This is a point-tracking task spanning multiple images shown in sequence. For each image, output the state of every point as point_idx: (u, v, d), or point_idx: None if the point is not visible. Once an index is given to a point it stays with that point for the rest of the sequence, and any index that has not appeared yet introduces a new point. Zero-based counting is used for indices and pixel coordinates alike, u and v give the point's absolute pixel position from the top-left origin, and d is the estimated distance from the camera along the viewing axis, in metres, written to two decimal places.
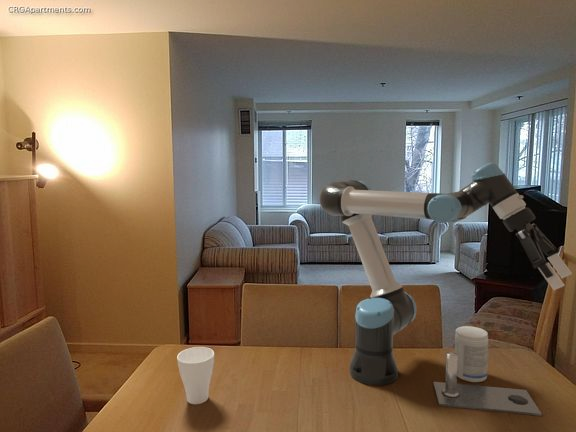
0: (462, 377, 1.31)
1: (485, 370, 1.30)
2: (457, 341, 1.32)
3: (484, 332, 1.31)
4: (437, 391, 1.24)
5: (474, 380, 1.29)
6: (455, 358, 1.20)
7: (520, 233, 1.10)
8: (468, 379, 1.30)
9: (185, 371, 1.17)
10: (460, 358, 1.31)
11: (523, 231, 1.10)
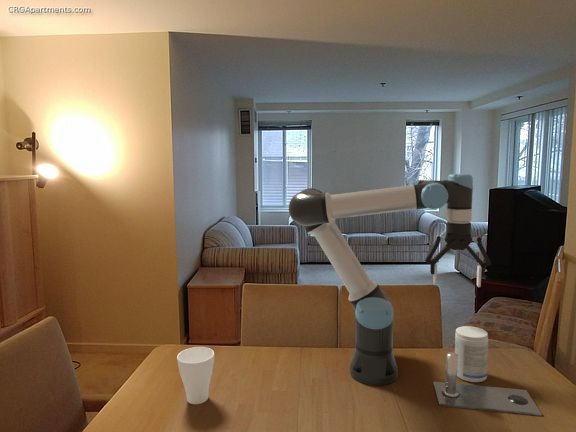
0: (462, 377, 1.31)
1: (485, 370, 1.30)
2: (457, 341, 1.32)
3: (484, 332, 1.31)
4: (437, 391, 1.24)
5: (474, 380, 1.29)
6: (455, 358, 1.20)
7: (480, 238, 1.37)
8: (468, 379, 1.30)
9: (185, 371, 1.17)
10: (460, 358, 1.31)
11: None
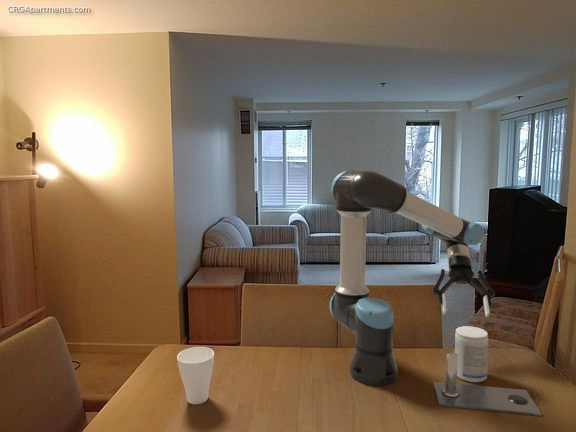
0: (462, 377, 1.31)
1: (485, 370, 1.30)
2: (457, 341, 1.32)
3: (484, 332, 1.31)
4: (437, 391, 1.24)
5: (474, 380, 1.29)
6: (455, 358, 1.20)
7: None
8: (468, 379, 1.30)
9: (185, 371, 1.17)
10: (460, 358, 1.31)
11: None
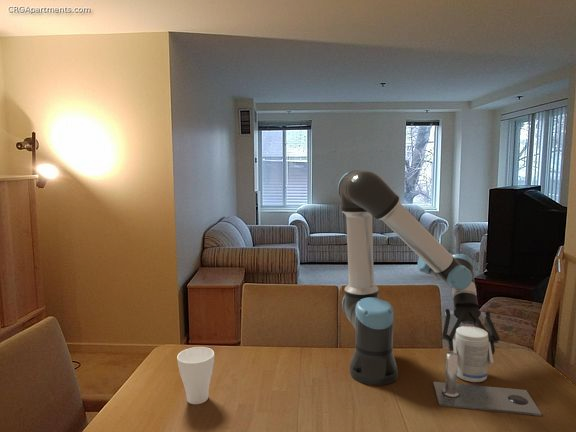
0: (462, 377, 1.31)
1: (485, 370, 1.30)
2: (457, 341, 1.32)
3: (484, 332, 1.31)
4: (437, 391, 1.24)
5: (474, 380, 1.29)
6: (455, 358, 1.20)
7: None
8: (468, 379, 1.30)
9: (185, 371, 1.17)
10: (460, 358, 1.31)
11: None
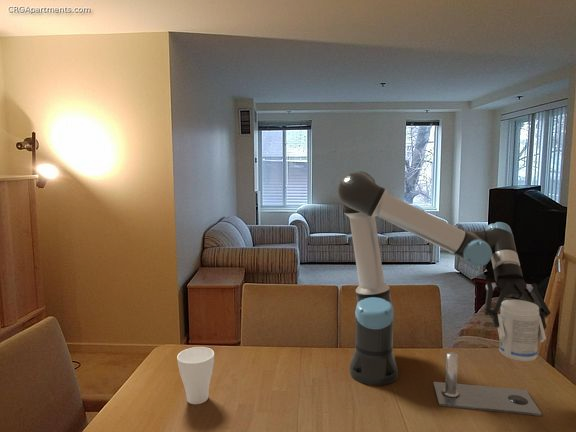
0: (510, 356, 1.17)
1: (536, 347, 1.16)
2: (504, 315, 1.17)
3: (534, 305, 1.17)
4: (437, 391, 1.24)
5: (524, 359, 1.15)
6: (455, 358, 1.20)
7: None
8: (517, 358, 1.16)
9: (185, 371, 1.17)
10: (508, 335, 1.17)
11: None
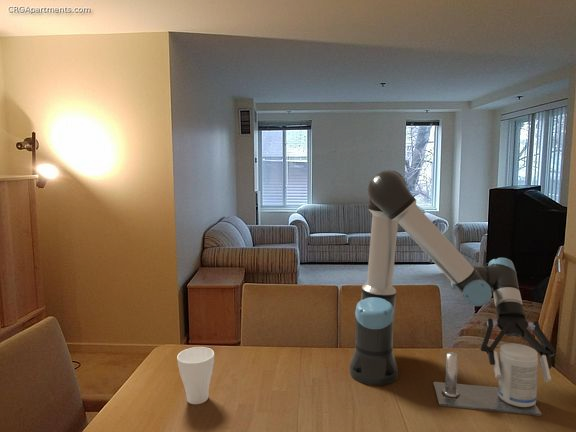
0: (508, 401, 1.17)
1: (535, 393, 1.15)
2: (502, 360, 1.17)
3: (533, 350, 1.17)
4: (437, 391, 1.24)
5: (523, 405, 1.15)
6: (455, 358, 1.20)
7: None
8: (516, 404, 1.15)
9: (185, 371, 1.17)
10: (506, 380, 1.17)
11: None
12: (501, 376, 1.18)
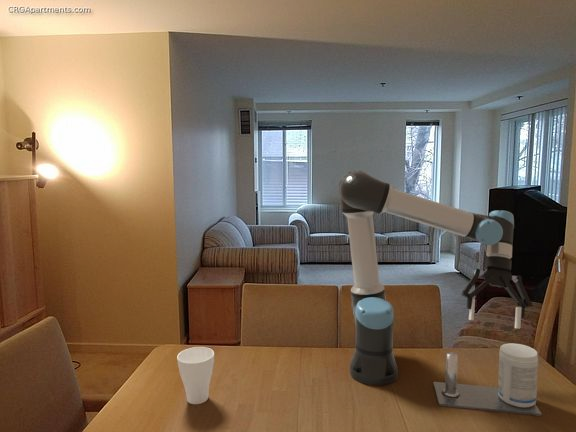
0: (509, 401, 1.17)
1: (535, 394, 1.15)
2: (502, 361, 1.17)
3: (533, 351, 1.17)
4: (437, 391, 1.24)
5: (523, 405, 1.15)
6: (455, 358, 1.20)
7: None
8: (516, 404, 1.15)
9: (185, 371, 1.17)
10: (506, 381, 1.17)
11: None
12: (501, 376, 1.18)
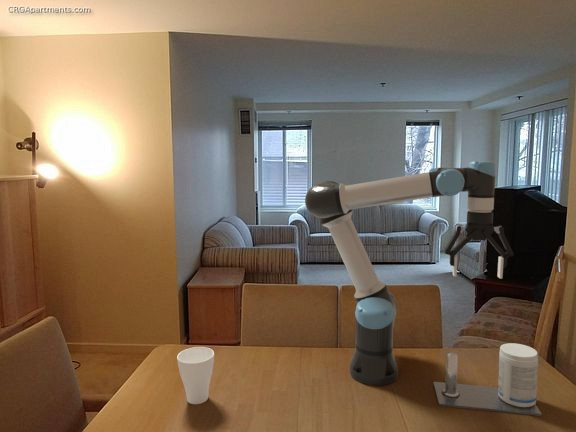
0: (509, 401, 1.17)
1: (535, 393, 1.15)
2: (502, 361, 1.17)
3: (533, 350, 1.17)
4: (437, 391, 1.24)
5: (523, 405, 1.15)
6: (455, 358, 1.20)
7: (502, 227, 1.32)
8: (516, 404, 1.15)
9: (185, 371, 1.17)
10: (506, 380, 1.17)
11: (501, 227, 1.33)
12: (501, 376, 1.18)
